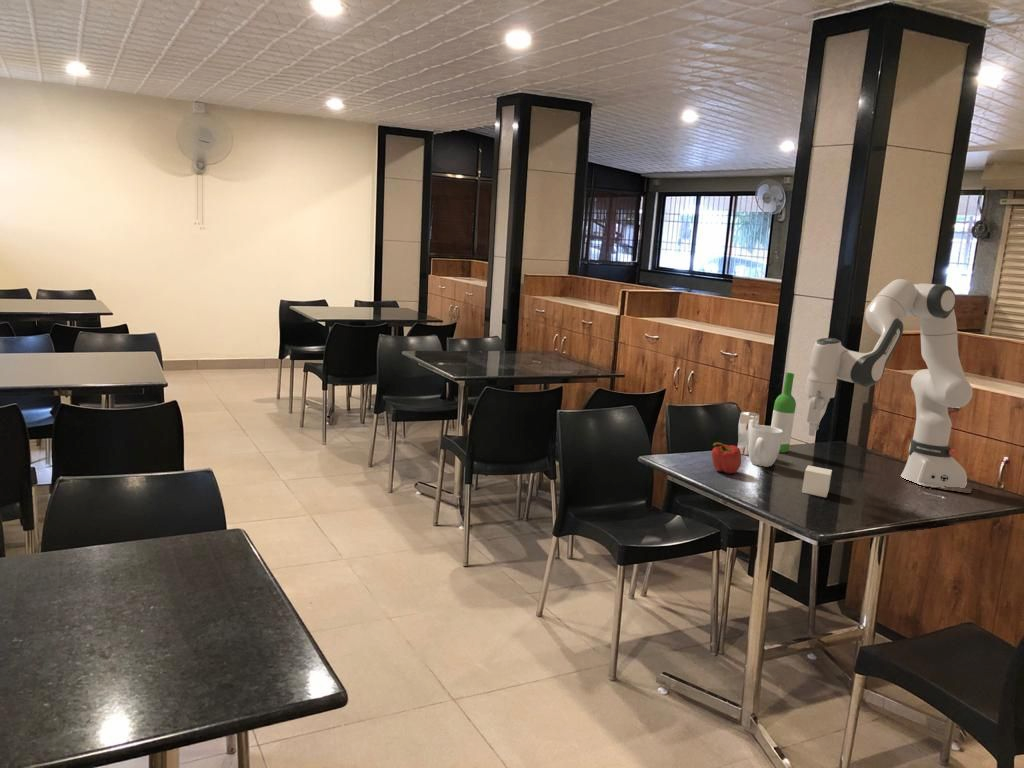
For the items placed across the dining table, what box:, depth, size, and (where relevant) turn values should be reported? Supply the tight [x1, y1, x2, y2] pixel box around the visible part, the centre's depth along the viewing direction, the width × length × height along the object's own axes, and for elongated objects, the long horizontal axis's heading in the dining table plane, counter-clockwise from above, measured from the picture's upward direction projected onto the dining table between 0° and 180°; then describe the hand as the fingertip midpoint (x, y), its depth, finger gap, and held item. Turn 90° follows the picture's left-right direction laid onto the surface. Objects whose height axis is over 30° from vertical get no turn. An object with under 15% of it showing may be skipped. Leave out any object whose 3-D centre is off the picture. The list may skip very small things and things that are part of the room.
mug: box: [748, 424, 783, 468], centre depth 286 cm, size 15×11×13 cm
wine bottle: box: [770, 372, 797, 454], centre depth 310 cm, size 8×8×30 cm
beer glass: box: [736, 411, 760, 456], centre depth 302 cm, size 7×7×15 cm
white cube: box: [801, 465, 833, 498], centre depth 260 cm, size 7×7×7 cm
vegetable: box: [711, 441, 742, 474], centre depth 274 cm, size 11×10×10 cm
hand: (813, 432), depth 259 cm, fingers open, 8 cm apart
